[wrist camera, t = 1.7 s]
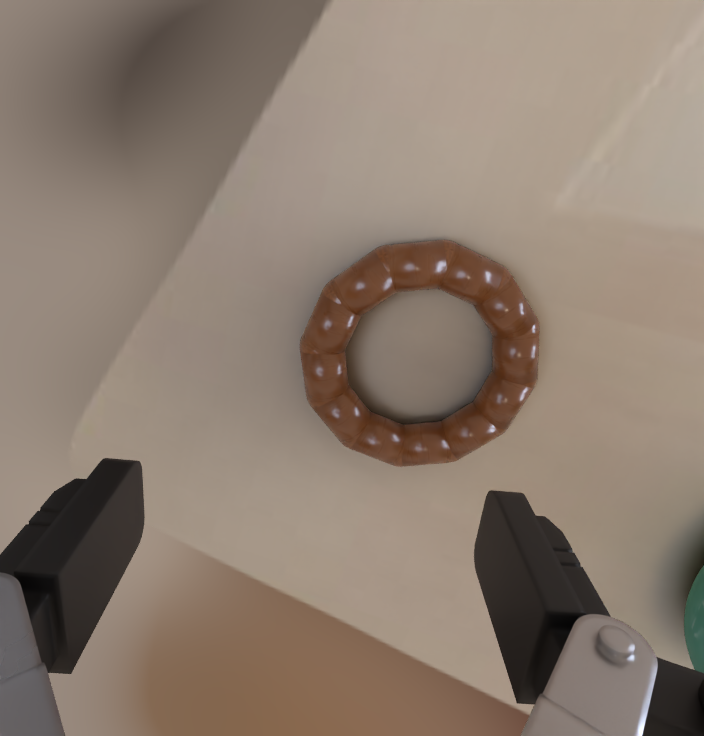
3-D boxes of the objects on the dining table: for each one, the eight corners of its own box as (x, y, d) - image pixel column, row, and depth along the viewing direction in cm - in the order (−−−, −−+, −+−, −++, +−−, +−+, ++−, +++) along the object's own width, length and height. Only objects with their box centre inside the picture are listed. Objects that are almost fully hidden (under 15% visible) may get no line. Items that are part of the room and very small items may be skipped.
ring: (270, 404, 24) (264, 423, 22) (362, 196, 20) (364, 201, 19) (460, 479, 25) (469, 503, 24) (574, 298, 22) (593, 310, 20)
